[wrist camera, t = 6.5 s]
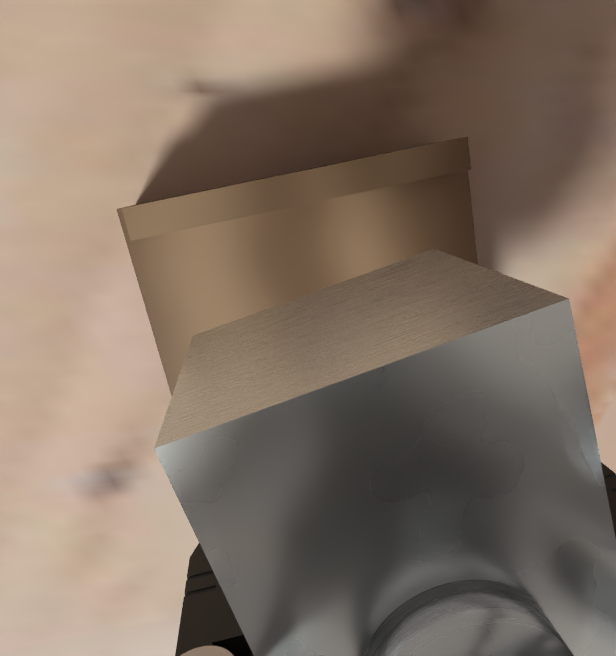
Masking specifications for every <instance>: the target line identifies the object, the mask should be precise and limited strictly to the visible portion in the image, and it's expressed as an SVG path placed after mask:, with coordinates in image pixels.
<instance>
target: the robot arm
mask: <svg viewBox="0 0 616 656" xmlns="http://www.w3.org/2000/svg"><path fill="white" fill-rule="evenodd" d="M601 466H602V471H603V476H604V481H605V486H606V491H607V497H608V502H609V507H610V512H611V517H612V522H613V527H614V532H615V538H616V474H615V473H614V472H613V471H612V470H610V469H609V468H608V467H607V466H605V465H604V464H603V463H602V462H601ZM187 579H188V580H187V581H186V587H185V597H184V601H183V608H182V614H181V621H180V628H179V635H178V641H177V648H176V655H175V656H254V655H253V653H252V651H251V649H250V646H249V644H248V642H247V640H246V638H245V636H244V634H243V632H242V630H241V628H240V626H239V624H238V622H237V620H236V617H235V615H234V613H233V611H232V609H231V607H230V605H229V603H228V601H227V599H226V597H225V595H224V593H223V590H222V588H221V586H220V584H219V582H218V580H217V578H216V576H215V574H214V572H213V570H212V568H211V566H210V564H209V561H208V559H207V557H206V555H205V553H204V551H203V549H202V547H201V545H200V543H199V544H198V546H197V547H196V549H195V550H194V552H193V554H192V555H191V557H190V560H189V567H188V574H187Z"/></svg>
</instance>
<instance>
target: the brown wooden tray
mask: <svg viewBox="0 0 616 656" xmlns="http://www.w3.org/2000/svg"><path fill="white" fill-rule="evenodd" d="M468 170H471V166H470V157H469V147H468V137H465V138H458V139H453V140H448V141H443V142H437V143H432V144H428V145H423V146H418V147H413V148H408V149H403V150H398V151H394V152H389V153H384V154H379V155H374V156H369V157H365V158H360V159H355V160H350V161H345V162H340V163H336V164H331V165H326V166H321V167H316V168H311V169H306V170H302V171H297V172H292V173H287V174H282V175H277V176H273V177H268V178H263V179H258V180H253V181H248V182H244V183H239V184H234V185H229V186H224V187H219V188H214V189H210V190H205V191H200V192H195V193H190V194H185V195H181V196H176V197H171V198H166V199H161V200H156V201H151V202H147V203H142V204H137V205H132V206H128V207H124V208H120V209H117V212H118V216H119V219H120V222H121V226H122V229H123V232H124V236H125V239H126V243H127V246H128V249H129V253H130V256H131V260H132V263H133V266H134V270H135V273H136V276H137V280H138V283H139V287H140V290H141V293H142V297H143V300H144V304H145V307H146V310H147V314H148V317H149V320H150V324H151V327H152V331H153V334H154V337H155V341H156V344H157V348H158V351H159V354H160V358H161V361H162V365H163V368H164V371H165V375H166V378H167V381H168V385H169V388H170V392H171V395H173V392H174V389H175V386H176V383H177V380H178V377H179V375H180V372H181V369H182V366H183V363H184V360H185V357H186V354H187V351H188V348H189V345H190V343H191V340H192V337H193V335H195V334H198V333H201V332H204V331H206V330H209V329H212V328H215V327H218V326H220V325H223V324H226V323H229V322H232V321H234V320H237V319H240V318H243V317H246V316H248V315H251V314H254V313H257V312H259V311H262V310H265V309H268V308H271V307H273V306H276V305H279V304H282V303H285V302H287V301H290V300H293V299H296V298H298V297H301V296H304V295H307V294H310V293H312V292H315V291H318V290H321V289H324V288H326V287H329V286H332V285H335V284H338V283H340V282H343V281H346V280H349V279H351V278H354V277H357V276H360V275H363V274H365V273H368V272H371V271H374V270H377V269H379V268H382V267H385V266H388V265H390V264H393V263H396V262H399V261H402V260H404V259H407V258H410V257H413V256H416V255H418V254H421V253H424V252H427V251H430V250H432V249H436V250H439V251H442V252H444V253H447V254H450V255H452V256H455V257H458V258H461V259H463V260H466V261H469V262H471V263H474V264H477V254H476V245H475V235H474V226H473V216H472V207H471V197H470V188H469V178H468ZM477 265H478V264H477Z"/></svg>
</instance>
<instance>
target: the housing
mask: <svg viewBox="0 0 616 656" xmlns="http://www.w3.org/2000/svg"><path fill="white" fill-rule="evenodd" d="M154 449H155V452H156V454H157V456H158V458H159V460H160V462H161V464H162V466H163V468H164V470H165V472H166V474H167V476H168V479H169V481H170V483H171V485H172V487H173V489H174V491H175V493H176V495H177V497H178V499H179V501H180V503H181V505H182V508H183V510H184V512H185V514H186V516H187V518H188V520H189V522H190V524H191V526H192V528H193V530H194V532H195V535H196V537H197V539H198V541H199V543H200V545H201V547H202V549H203V551H204V553H205V555H206V557H207V559H208V561H209V564H210V566H211V568H212V570H213V572H214V574H215V576H216V578H217V580H218V582H219V584H220V586H221V588H222V590H223V593H224V595H225V597H226V599H227V601H228V603H229V605H230V607H231V609H232V611H233V613H234V615H235V617H236V620H237V622H238V624H239V626H240V628H241V630H242V632H243V634H244V636H245V638H246V640H247V642H248V644H249V646H250V649H251V651H252V653H253V655H254V656H616V538H615V532H614V527H613V522H612V517H611V512H610V507H609V502H608V497H607V491H606V486H605V481H604V476H603V471H602V466H601V461H600V455H599V450H598V445H597V440H596V435H595V430H594V425H593V419H592V414H591V409H590V404H589V399H588V394H587V389H586V383H585V378H584V373H583V368H582V363H581V358H580V353H579V348H578V342H577V337H576V332H575V327H574V322H573V317H572V312H571V306H570V301H569V298H566V297H563V296H561V295H558V294H555V293H552V292H550V291H547V290H544V289H542V288H539V287H536V286H534V285H531V284H528V283H525V282H523V281H520V280H517V279H515V278H512V277H509V276H507V275H504V274H501V273H498V272H496V271H493V270H490V269H488V268H485V267H482V266H479V265H477V264H474V263H471V262H469V261H466V260H463V259H461V258H458V257H455V256H452V255H450V254H447V253H444V252H442V251H439V250H436V249H432V250H430V251H427V252H424V253H421V254H418V255H416V256H413V257H410V258H407V259H404V260H402V261H399V262H396V263H393V264H390V265H388V266H385V267H382V268H379V269H377V270H374V271H371V272H368V273H365V274H363V275H360V276H357V277H354V278H351V279H349V280H346V281H343V282H340V283H338V284H335V285H332V286H329V287H326V288H324V289H321V290H318V291H315V292H312V293H310V294H307V295H304V296H301V297H298V298H296V299H293V300H290V301H287V302H285V303H282V304H279V305H276V306H273V307H271V308H268V309H265V310H262V311H259V312H257V313H254V314H251V315H248V316H246V317H243V318H240V319H237V320H234V321H232V322H229V323H226V324H223V325H220V326H218V327H215V328H212V329H209V330H206V331H204V332H201V333H198V334H195V335H193V337H192V340H191V343H190V345H189V348H188V351H187V354H186V357H185V360H184V363H183V366H182V369H181V372H180V375H179V377H178V380H177V383H176V386H175V389H174V392H173V395H172V398H171V401H170V404H169V407H168V409H167V412H166V415H165V418H164V421H163V424H162V427H161V430H160V433H159V436H158V439H157V441H156V444H155V447H154Z"/></svg>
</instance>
